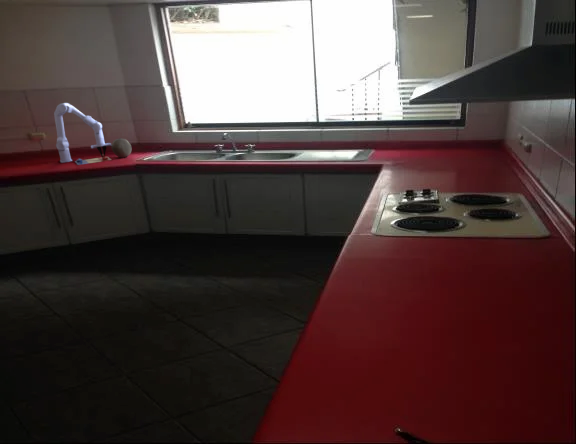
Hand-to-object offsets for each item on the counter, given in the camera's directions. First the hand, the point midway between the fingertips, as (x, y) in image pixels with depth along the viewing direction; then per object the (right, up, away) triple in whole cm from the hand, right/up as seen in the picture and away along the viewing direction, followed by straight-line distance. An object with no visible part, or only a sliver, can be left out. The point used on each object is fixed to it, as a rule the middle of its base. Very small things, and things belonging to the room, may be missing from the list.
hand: (103, 156), depth 323 cm
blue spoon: (-14, -6, -8) cm, 17 cm away
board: (-6, -4, -5) cm, 8 cm away
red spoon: (+1, -2, -1) cm, 2 cm away
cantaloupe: (+15, -1, +1) cm, 15 cm away
